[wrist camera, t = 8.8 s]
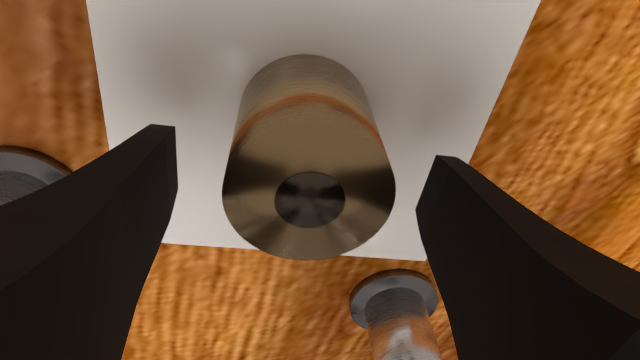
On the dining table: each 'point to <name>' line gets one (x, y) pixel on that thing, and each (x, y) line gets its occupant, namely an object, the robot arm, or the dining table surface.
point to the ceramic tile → (317, 39)
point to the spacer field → (365, 301)
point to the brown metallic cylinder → (306, 162)
